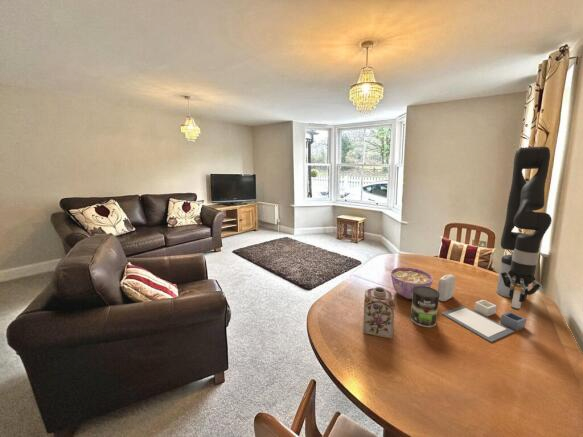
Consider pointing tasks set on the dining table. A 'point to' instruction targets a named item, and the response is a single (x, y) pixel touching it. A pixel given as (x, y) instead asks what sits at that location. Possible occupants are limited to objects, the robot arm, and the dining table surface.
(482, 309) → the cup
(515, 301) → the marker
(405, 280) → the bowl of food
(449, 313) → the writing board
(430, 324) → the coffee can
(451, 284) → the photo printer
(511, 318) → the cup
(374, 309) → the decorative jar
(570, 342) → the dining table surface
